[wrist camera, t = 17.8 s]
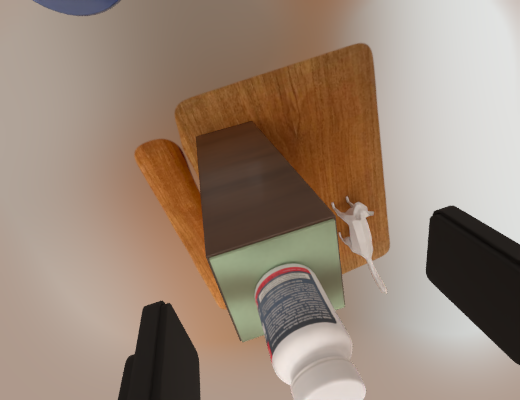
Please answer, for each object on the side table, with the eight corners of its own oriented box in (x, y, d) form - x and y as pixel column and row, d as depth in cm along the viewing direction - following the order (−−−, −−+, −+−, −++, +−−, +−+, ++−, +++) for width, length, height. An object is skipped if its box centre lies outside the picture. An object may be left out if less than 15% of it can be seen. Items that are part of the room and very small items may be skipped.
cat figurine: (345, 178, 60) (385, 211, 48) (360, 249, 70) (397, 291, 57) (325, 187, 60) (360, 222, 47) (343, 256, 70) (376, 300, 57)
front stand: (195, 136, 50) (205, 259, 21) (252, 120, 50) (337, 217, 22) (213, 187, 55) (240, 344, 26) (264, 172, 55) (347, 307, 26)
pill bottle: (239, 291, 23) (266, 416, 15) (290, 249, 22) (346, 358, 14) (280, 320, 25) (321, 439, 18) (327, 283, 24) (392, 391, 17)
